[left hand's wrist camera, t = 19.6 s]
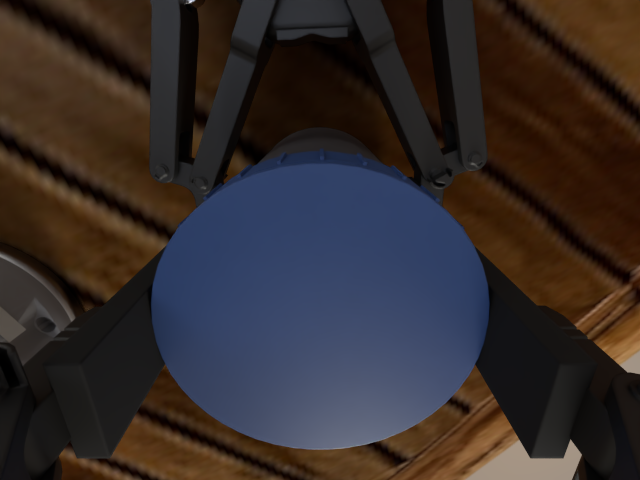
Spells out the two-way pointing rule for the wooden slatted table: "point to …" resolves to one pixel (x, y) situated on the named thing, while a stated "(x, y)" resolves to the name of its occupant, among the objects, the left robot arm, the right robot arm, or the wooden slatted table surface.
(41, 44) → the wooden slatted table surface
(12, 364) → the left robot arm
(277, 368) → the lid
